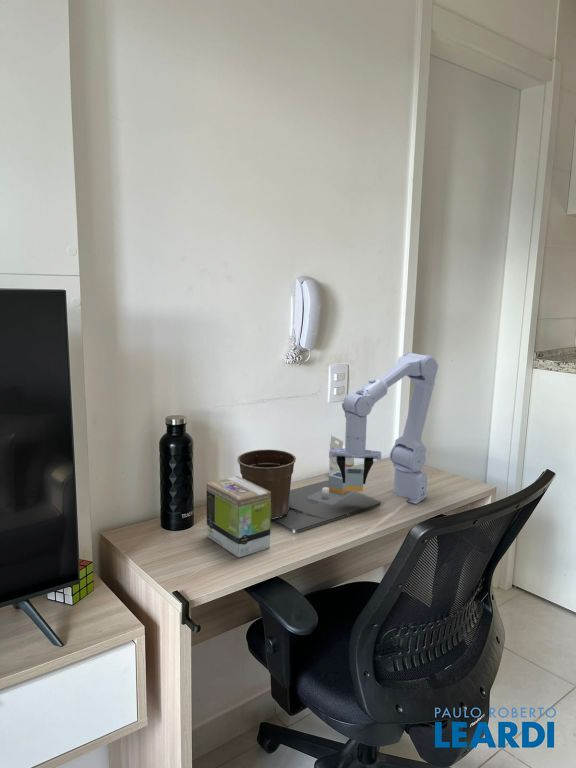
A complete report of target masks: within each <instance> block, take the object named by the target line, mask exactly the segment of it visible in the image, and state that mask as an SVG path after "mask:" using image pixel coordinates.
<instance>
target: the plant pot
mask: <svg viewBox="0 0 576 768" xmlns="http://www.w3.org/2000/svg"><path fill="white" fill-rule="evenodd" d="M296 460H297V458H296V456H295V455H294V454H293V453H291V452H289V451H285V450H279V449H256V450H250V451H247V452H244V453H242V454H240V455H238V457H237V463H238V464H239V473H240V474H241V478H243V479H245V480H247V481H249V482H251V483H253V484H255V485H257V486H260V487H262V488H264V489H266V490H268V491H270V492H271V516H270V521H272V520H271V519H272V518H275V517H280V516H283V515H284V516H286V515H285V514H286V513H287V512H289V506H290V496H291V495H290V492H291V484H292V477H293V476H292V475H293V473H294V466H295V463H296ZM287 514H288V513H287ZM284 516H283V517H284Z"/></svg>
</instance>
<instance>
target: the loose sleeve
mask: <svg viewBox="0 0 576 768" xmlns="http://www.w3.org/2000/svg"><path fill="white" fill-rule="evenodd" d="M363 472H364V468H359V467H358V468H356V467H354V468H346V472H345V491H356V492H363V491H364V484H363Z"/></svg>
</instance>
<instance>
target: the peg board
mask: <svg viewBox="0 0 576 768" xmlns="http://www.w3.org/2000/svg"><path fill="white" fill-rule="evenodd" d="M356 492H357V491H348V492H346V493H344V494H338V493H335V492H331V491H329V488H328V486H325V487H322V488H321V490H318V491H317V492H314V493H313V494H311V495H309V496H307V497H306V499H308V500H311V501H315V502H319V503H322V504H326V505H329V506H333V505H335V504H337V503H338V502H341V501H343V500H344V499H346V498H347V497H349V496H352V495H353V494H354V493H356Z"/></svg>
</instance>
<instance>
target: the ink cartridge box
mask: <svg viewBox="0 0 576 768" xmlns="http://www.w3.org/2000/svg"><path fill="white" fill-rule="evenodd" d="M329 442H330V444H329V449H345V443H344V440H342V439H340V438H338V437H337V436H334V435H331V436H330V441H329ZM336 460H337V457H333V458H329V464H328V465H329V469H328V470H329V471H328V475H330V474H332V473H334V472H336V471H339V472H341V471H340V468H339V466H338V464H337V461H336ZM346 468H355V458H345V472H346Z"/></svg>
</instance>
